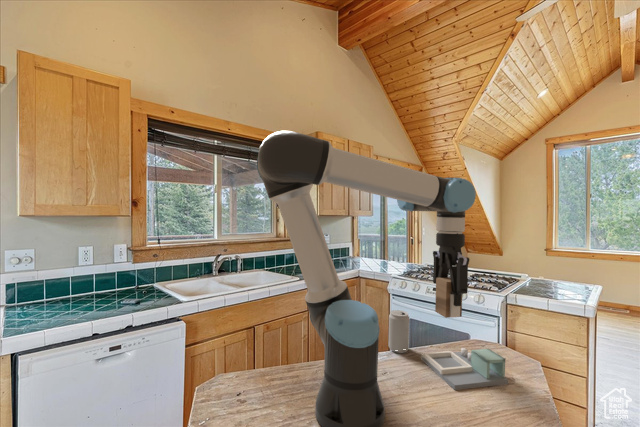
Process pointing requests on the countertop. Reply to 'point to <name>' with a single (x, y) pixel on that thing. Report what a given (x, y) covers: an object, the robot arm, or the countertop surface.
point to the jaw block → (444, 297)
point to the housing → (487, 362)
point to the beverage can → (398, 331)
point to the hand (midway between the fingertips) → (448, 313)
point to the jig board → (460, 370)
